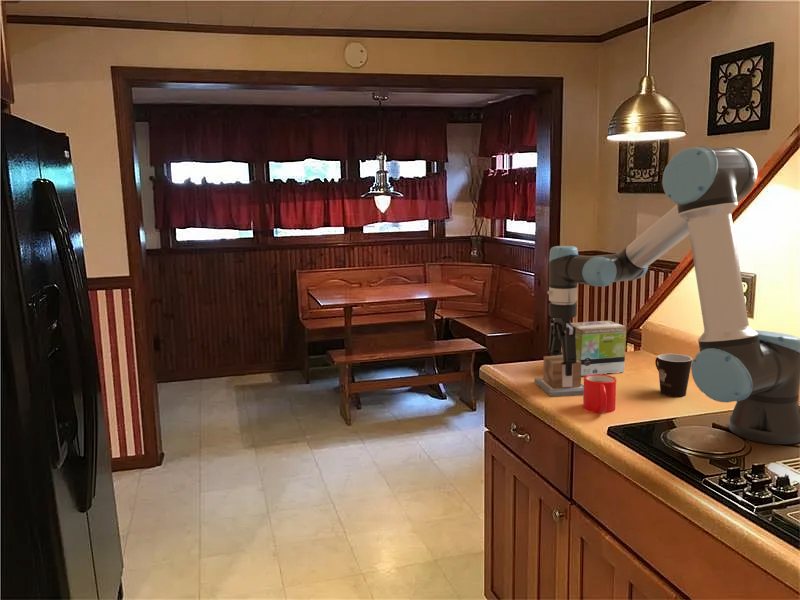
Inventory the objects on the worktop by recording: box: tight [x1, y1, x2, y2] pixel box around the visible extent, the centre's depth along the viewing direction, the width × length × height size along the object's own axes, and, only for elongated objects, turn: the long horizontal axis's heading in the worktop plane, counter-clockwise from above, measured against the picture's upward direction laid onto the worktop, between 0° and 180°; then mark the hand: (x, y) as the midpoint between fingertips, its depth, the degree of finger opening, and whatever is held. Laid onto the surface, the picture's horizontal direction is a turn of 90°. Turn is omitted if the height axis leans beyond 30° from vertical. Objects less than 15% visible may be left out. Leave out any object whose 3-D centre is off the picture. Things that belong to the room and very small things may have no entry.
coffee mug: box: [654, 353, 693, 398], centre depth 180 cm, size 12×9×10 cm
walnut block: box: [542, 354, 582, 388], centre depth 186 cm, size 8×8×7 cm
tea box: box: [571, 320, 627, 377], centre depth 202 cm, size 15×10×15 cm
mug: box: [582, 374, 617, 414], centre depth 167 cm, size 8×12×8 cm, turn 174°
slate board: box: [534, 377, 584, 398], centre depth 186 cm, size 14×11×1 cm
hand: (561, 381), depth 186 cm, fingers closed on walnut block, 8 cm apart
